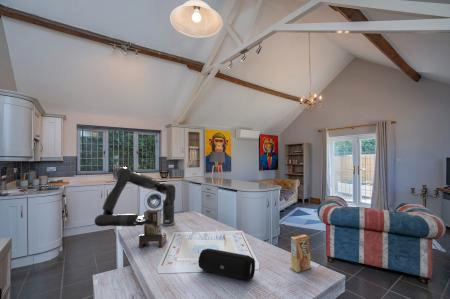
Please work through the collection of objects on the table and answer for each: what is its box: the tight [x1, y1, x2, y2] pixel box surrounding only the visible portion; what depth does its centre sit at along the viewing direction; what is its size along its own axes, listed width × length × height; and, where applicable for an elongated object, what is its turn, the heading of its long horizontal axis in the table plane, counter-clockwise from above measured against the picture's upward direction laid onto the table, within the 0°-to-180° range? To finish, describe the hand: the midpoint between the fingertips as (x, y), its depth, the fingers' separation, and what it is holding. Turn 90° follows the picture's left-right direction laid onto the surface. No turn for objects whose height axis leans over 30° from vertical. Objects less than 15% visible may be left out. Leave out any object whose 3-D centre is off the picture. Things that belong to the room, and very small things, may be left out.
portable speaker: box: [197, 248, 256, 281], centre depth 101 cm, size 26×10×10 cm, turn 66°
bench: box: [138, 232, 167, 249], centre depth 137 cm, size 10×14×8 cm
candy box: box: [290, 234, 311, 273], centre depth 105 cm, size 9×4×15 cm, turn 116°
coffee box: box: [143, 209, 162, 235], centre depth 137 cm, size 9×6×16 cm
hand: (154, 219), depth 137 cm, fingers open, 8 cm apart
